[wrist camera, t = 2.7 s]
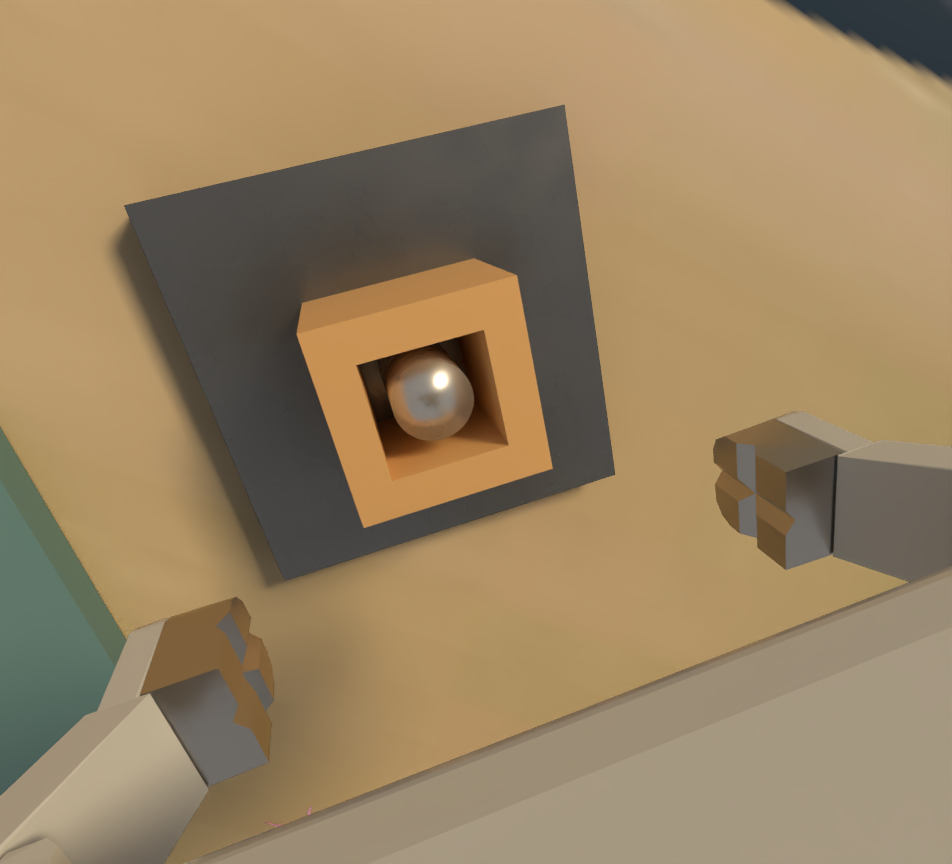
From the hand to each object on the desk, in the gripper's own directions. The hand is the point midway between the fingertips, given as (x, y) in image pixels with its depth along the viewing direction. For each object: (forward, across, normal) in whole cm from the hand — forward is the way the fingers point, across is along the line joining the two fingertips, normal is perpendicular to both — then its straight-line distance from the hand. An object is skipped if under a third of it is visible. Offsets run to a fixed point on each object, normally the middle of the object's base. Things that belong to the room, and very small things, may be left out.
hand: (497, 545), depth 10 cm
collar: (+13, 0, 0) cm, 13 cm away
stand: (+14, 0, 0) cm, 14 cm away
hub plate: (+14, +22, +6) cm, 27 cm away
